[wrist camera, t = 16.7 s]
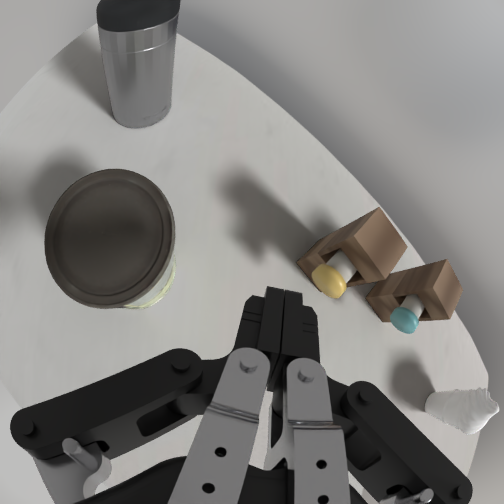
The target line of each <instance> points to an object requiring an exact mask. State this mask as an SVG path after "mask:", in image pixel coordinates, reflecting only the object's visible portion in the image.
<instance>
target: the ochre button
mask: <svg viewBox="0 0 504 504" xmlns="http://www.w3.org/2000/svg"><path fill="white" fill-rule="evenodd" d="M356 271H357V269H356V268H355V266H354V265H353V264H352V262H351V261H350V260H349V258H348V257H347V256H346V255H345V253H344V252H343V251H342V249H341V248H340V249H339V250H338V251H337V252H336V254H335V255H334V256H333V257H332V258H331V259H330V260H329V261H328V262H327V263H326V264H320V265H319V266H318V267H317V268H316V269H315V270H314V271H313V272H312V279H313V281H314V283H315V284H316V286H317V287H318V288H319V289H320V290H321V291H322V292H323V293H324V294H326V295H327V296H329V297H331V298H339V297H340V296H341V295H342V294H343V293H344V291H345V290H346V287H347V286H346V283H347V282H348V281H349V280H350V278H351V277H352V276H353V275H354V274H355V273H356Z"/></svg>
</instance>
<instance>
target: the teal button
mask: <svg viewBox="0 0 504 504" xmlns="http://www.w3.org/2000/svg"><path fill="white" fill-rule="evenodd" d="M424 308H425V306H424V305H423V303H422V301H421V300H420V298H419V296H418V295H417V294H412V295H407V296H406V298H405V300H404V301H403V303H402V304H401V306H400V307H397V308H395V309H394V311H393V312H392V314H391V315H390V320H391V323H392V324H393V325H394V326H395V327H396V328H397V329H398V330H400V331H401V332H404V333H407V334H410V333H413V332H414V331H415V329H416V328H417V326H418V324H419V321H418V319H419V317H420V315H421V313H422V312H423V310H424Z"/></svg>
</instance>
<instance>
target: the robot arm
mask: <svg viewBox="0 0 504 504" xmlns="http://www.w3.org/2000/svg"><path fill="white" fill-rule="evenodd" d="M179 9H180V0H101V1H100V2H99V4H98V6H97V23H98V31H99V39H100V45H101V52H102V59H103V65H104V71H105V76H106V82H107V87H108V92H109V98H110V102H111V107H112V111H113V115H114V118H115V119H116V121H117V122H118V123H120V124H121V125H123V126H125V127H130V128H142V127H147V126H150V125H153V124H155V123H157V122H159V121H160V120H162V119H163V118H164V117H165V116H166V115H167V113H168V112H169V110H170V108H171V97H172V81H173V66H174V54H175V43H176V34H177V24H178V16H179ZM317 326H318V321H317V315H316V313H315V312H314V310H313V308H312V307H309V306H304V305H303V299H302V293H299V292H294V291H289V290H285V291H284V289H279V288H274V287H270V286H267V288H266V292H265V296H264V297H259V296H254V295H252V296H251V297H250V298H249V299H248V300H247V301H246V302H245V306H244V309H243V313H242V317H241V321H240V325H239V329H238V333H237V337H236V341H235V345H234V348H233V350H232V351H231V352H230V354H228V355H227V356H225V357H223V358H220V359H215V360H201V358H200V357H199V356H198V355H197V354H196V353H194V352H193V351H191V350H188V349H182V348H178V349H172V350H169V351H167V352H165V353H163V354H161V355H158V356H156V357H154V358H152V359H149V360H147V361H145V362H143V363H140V364H138V365H136V366H133V367H131V368H129V369H126V370H124V371H122V372H119V373H117V374H114V375H112V376H110V377H107V378H105V379H102V380H100V381H97V382H95V383H92V384H90V385H87V386H85V387H82V388H79V389H77V390H74V391H72V392H69V393H66V394H64V395H61V396H58V397H55V398H53V399H50V400H47V401H44V402H41V403H38V404H36V405H33V406H30V407H27V408H24V409H21V410H19V411H17V412H16V413H15V414H14V416H13V417H12V420H11V424H10V430H11V434H12V437H13V439H14V440H15V442H17V444H18V445H19V446H21V447H22V448H23V449H25V450H26V451H27V452H28V453H29V454H30V455H31V456H32V457H33V459H34V461H35V464H36V466H37V468H38V471H39V473H40V475H41V477H42V479H43V482H44V484H45V485H46V488H47V490H48V491H49V494H50V495H51V497H52V499H53V501H54V503H55V504H368V503H367V502H366V501H365V500H364V499H363V498H362V496H361V495H360V494H359V493H358V492H357V491H356V490H355V488H353V487H352V486H351V485H350V484H349V479H348V471H349V472H350V473H351V474H352V475H353V476H354V477H355V478H356V479H357V481H358V482H359V483H360V484H361V485H362V486H363V487H364V488H365V489H366V490H367V491H368V492H369V493H370V495H371V496H372V497H373V498H374V499H375V500H376V501H377V502H379V504H468V503H469V501H470V499H471V497H472V491H473V490H472V484H471V482H470V480H469V479H468V478H467V477H466V476H465V475H464V474H463V473H462V472H461V471H460V470H459V469H458V468H457V467H456V466H455V465H454V464H453V463H452V462H451V461H450V460H449V459H448V458H447V457H446V456H445V455H444V454H443V453H442V452H441V451H440V450H439V449H438V448H437V447H436V446H435V445H434V444H433V443H432V442H431V441H430V440H429V439H428V438H427V437H426V436H425V435H424V434H423V433H422V432H421V431H420V430H419V429H418V428H417V427H416V426H415V425H414V424H413V423H412V422H411V421H410V420H409V419H408V418H407V417H406V416H405V415H404V414H403V413H402V412H401V411H400V410H399V409H398V408H397V407H396V406H395V405H394V404H393V403H392V402H391V401H390V400H389V399H388V398H387V397H386V396H385V395H384V394H383V393H382V392H381V391H380V390H379V389H378V388H377V387H376V386H375V385H373V384H371V383H369V382H366V381H357V382H355V383H353V384H351V385H350V387H349V386H347V385H344V384H342V383H339V382H337V381H335V380H333V379H331V378H330V377H328V376H327V375H326V371H325V369H324V368H323V367H322V365H321V364H320V353H319V336H318V327H317ZM266 386H267V391H271V392H273V399H272V402H271V404H270V407H269V422H268V448H267V454H266V458H265V462H264V469H263V470H262V469H259V468H257V467H254V466H251V465H249V460H250V456H251V453H252V449H253V445H254V441H255V437H256V433H257V429H258V424H259V413H260V409H261V405H262V401H263V397H264V392H265V389H266ZM197 415H203V418H202V420H201V423H200V425H199V428H198V430H197V433H196V435H195V438H194V440H193V443H192V445H191V448H190V450H189V453H188V455H187V456H182V457H176V458H172V459H168V460H165V461H163V462H160V463H158V464H156V465H154V466H153V467H151V468H149V469H147V470H145V471H143V472H142V473H140V474H138V475H136V476H134V477H132V478H130V479H128V480H126V481H124V482H122V483H120V484H118V485H116V486H114V487H111V488H109V489H107V490H105V491H103V492H100V493H98V494H96V495H95V490H96V488H97V486H98V485H99V484H100V483H102V482H103V481H105V480H106V479H107V478H108V477H109V476H110V474H111V470H112V466H111V462H110V460H111V459H113V458H116V457H118V456H120V455H122V454H125V453H127V452H129V451H131V450H133V449H135V448H137V447H140V446H142V445H144V444H146V443H148V442H150V441H152V440H154V439H156V438H158V437H160V436H161V435H163V434H165V433H167V432H169V431H171V430H173V429H175V428H176V427H178V426H180V425H182V424H184V423H185V422H187V421H189V420H191V419H192V418H194V417H196V416H197Z"/></svg>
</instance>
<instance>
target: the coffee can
mask: <svg viewBox="0 0 504 504" xmlns="http://www.w3.org/2000/svg"><path fill="white" fill-rule="evenodd" d="M44 244H45V256H46V261H47V265H48V268H49V270H50V273H51V275H52V277H53V279H54V280H55V282H56V283H57V285H58V286H59V287H60V288H61V289H62V291H63V292H64V293H65V294H66V295H68V296H69V297H70V298H72V299H73V300H75V301H77V302H79V303H81V304H83V305H86V306H89V307H94V308H100V309H109V308H126V309H144V308H147V307H150V306H152V305H154V304H155V303H157V302H158V301H160V300H161V299H162V298H163V297H164V296H165V295H166V293H167V292H168V291H169V289H170V287H171V285H172V283H173V280H174V277H175V271H176V262H175V255H174V244H175V222H174V216H173V212H172V209H171V207H170V205H169V203H168V201H167V199H166V197H165V195H164V194H163V193H162V191H161V190H160V189H159V188H158V187H157V186H156V185H155V184H154V183H153V182H152V181H150V180H149V179H147V178H146V177H144V176H142V175H140V174H138V173H135V172H132V171H129V170H124V169H106V170H101V171H97V172H94V173H91V174H89V175H87V176H85V177H83V178H81V179H79V180H78V181H76V182H75V183H74V184H72V185H71V186H70V187H69V188H68V189H67V190H66V191H65V192H64V193H63V195H62V196H61V197H60V198H59V200H58V201H57V203H56V204H55V206H54V208H53V210H52V212H51V214H50V216H49V219H48V222H47V226H46V231H45V241H44Z"/></svg>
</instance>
